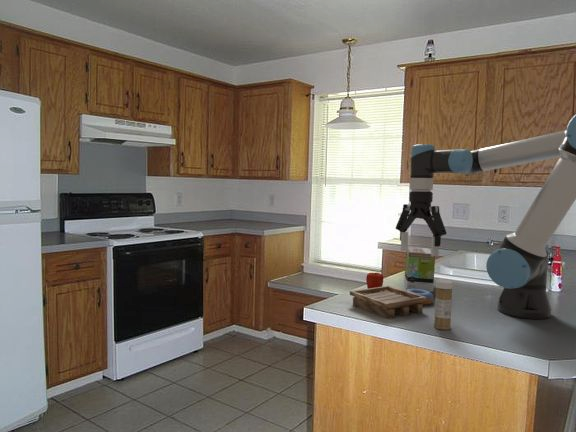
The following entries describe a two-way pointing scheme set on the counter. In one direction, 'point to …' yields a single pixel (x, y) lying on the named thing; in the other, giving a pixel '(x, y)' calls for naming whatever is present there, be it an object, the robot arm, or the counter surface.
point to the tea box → (419, 269)
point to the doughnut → (423, 293)
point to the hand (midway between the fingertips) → (418, 253)
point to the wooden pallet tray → (388, 301)
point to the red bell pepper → (374, 280)
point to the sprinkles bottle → (443, 304)
